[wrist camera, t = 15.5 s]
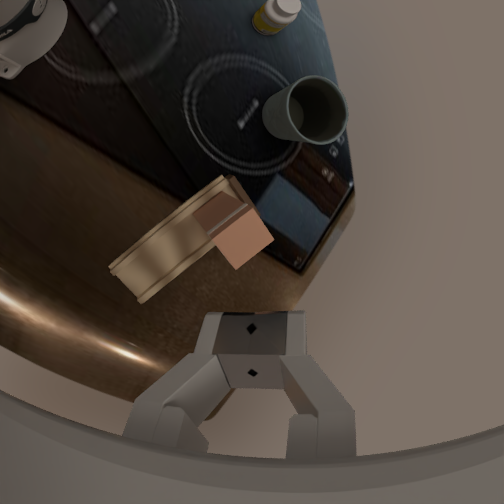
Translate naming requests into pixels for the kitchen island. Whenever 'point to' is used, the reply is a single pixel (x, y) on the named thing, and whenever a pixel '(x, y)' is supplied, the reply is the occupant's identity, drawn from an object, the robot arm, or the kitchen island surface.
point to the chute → (172, 243)
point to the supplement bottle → (275, 15)
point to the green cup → (307, 111)
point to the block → (233, 228)
